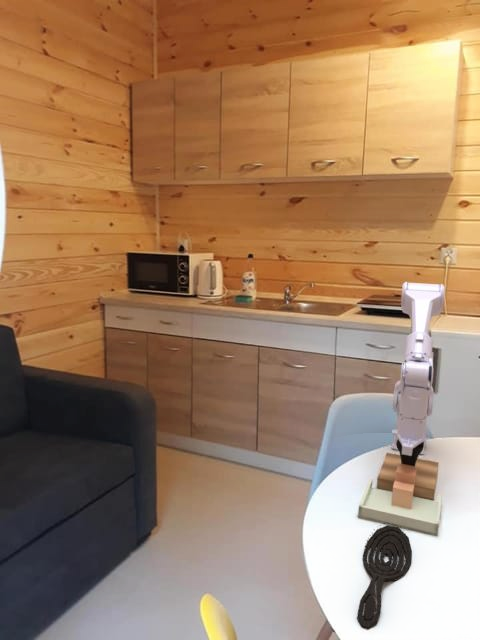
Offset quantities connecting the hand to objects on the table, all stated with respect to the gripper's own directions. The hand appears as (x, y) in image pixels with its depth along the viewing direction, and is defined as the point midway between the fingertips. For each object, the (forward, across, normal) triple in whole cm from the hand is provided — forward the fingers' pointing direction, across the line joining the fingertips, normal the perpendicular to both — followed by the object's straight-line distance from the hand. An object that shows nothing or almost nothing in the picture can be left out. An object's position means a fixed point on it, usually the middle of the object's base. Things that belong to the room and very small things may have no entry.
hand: (407, 472), depth 120 cm
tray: (+4, +10, 0) cm, 11 cm away
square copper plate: (+4, -4, 0) cm, 6 cm away
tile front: (+2, +6, 0) cm, 6 cm away
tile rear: (+1, +2, 0) cm, 3 cm away
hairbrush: (+5, +33, 0) cm, 33 cm away
